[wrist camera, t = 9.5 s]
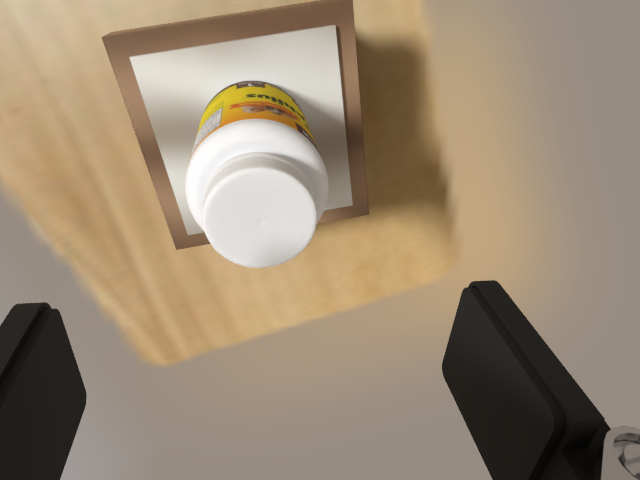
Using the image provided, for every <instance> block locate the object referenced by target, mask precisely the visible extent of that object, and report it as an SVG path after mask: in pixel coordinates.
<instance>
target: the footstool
mask: <svg viewBox="0 0 640 480" xmlns="http://www.w3.org/2000/svg"><path fill="white" fill-rule="evenodd" d="M102 40H103V42H104V45H105V48H106V51H107V54H108V57H109V60H110V62H111V65H112V68H113V71H114V74H115V77H116V79H117V82H118V85H119V88H120V91H121V94H122V96H123V99H124V102H125V105H126V108H127V111H128V113H129V116H130V119H131V122H132V125H133V128H134V131H135V133H136V136H137V139H138V142H139V145H140V148H141V150H142V153H143V156H144V159H145V162H146V165H147V167H148V170H149V173H150V176H151V179H152V182H153V184H154V187H155V190H156V193H157V196H158V199H159V201H160V204H161V207H162V210H163V213H164V216H165V219H166V221H167V224H168V227H169V230H170V233H171V236H172V238H173V241H174V244H175V247H176V250H178V249H184V248H189V247H194V246H200V245H205V244H211V243H210V242H209V240H208V239H207V236H206V234H205V232H204V231H203V230H202V228H201V227H200V226H199V225H198V224H197V222H196V221H195V219H194V217H193V215H192V213H191V211H190V209H189V206H188V203H187V198H186V192H185V180H186V173H187V168H188V164H189V160H190V157H191V154H192V150H193V147H194V143H195V140H196V136H197V133H198V129H199V126H200V122H201V119H202V115H203V113H204V111H205V109H206V107H207V105H208V103H209V102H210V101H211V99H212V98H213V97H214V96H215V95H216V94H217V93H218V92H219V91H221V90H222V89H224V88H225V87H227V86H229V85H231V84H233V83H236V82H240V81H247V80H257V81H264V82H268V83H271V84H273V85H276V86H278V87H280V88H281V89H283V90H285V91H286V92H287V93H288V94H289V95H290V96H291V97H292V98H293V99H294V100H295V101H296V102H297V104H298V105H299V106H300V108H301V110H302V112H303V114H304V116H305V118H306V121H307V123H308V126H309V128H310V130H311V133H312V135H313V138H314V140H315V143H316V145H317V148H318V150H319V152H320V155H321V157H322V159H323V161H324V164H325V168H326V172H327V176H328V186H329V190H328V198H327V203H326V206H325V210H324V212H323V214H322V216H321V218H320V219H319V221H318V223H317V224H320V223H325V222H331V221H336V220H341V219H347V218H352V217H358V216H363V215H369V211H368V198H367V185H366V172H365V158H364V145H363V132H362V119H361V105H360V92H359V79H358V66H357V52H356V39H355V26H354V13H353V0H319V1H312V2H306V3H299V4H293V5H286V6H280V7H273V8H267V9H260V10H253V11H247V12H240V13H234V14H227V15H221V16H214V17H208V18H201V19H195V20H188V21H181V22H175V23H168V24H162V25H155V26H149V27H142V28H136V29H129V30H123V31H116V32H111V33H109V34H107V35H105V36H103V37H102Z"/></svg>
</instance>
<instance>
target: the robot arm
mask: <svg viewBox="0 0 640 480" xmlns="http://www.w3.org/2000/svg"><path fill="white" fill-rule="evenodd" d="M442 371H443V376H444V378H445V380H446V383H447V384H448V387H449V389H450V391H451V393H452V395H453V397H454V399H455V401H456V404H457V406H458V408H459V410H460V412H461V414H462V416H463V418H464V420H465V422H466V425H467V427H468V429H469V431H470V433H471V435H472V437H473V439H474V441H475V443H476V446H477V448H478V450H479V452H480V454H481V456H482V458H483V460H484V462H485V464H486V467H487V469H488V471H489V473H490V475H491V477H492V479H493V480H640V429H638V428H635V427H627V426H620V427H616V428H612V429H610V427H609V426H608V425H607V423H606V422H605V421H604V418H603V416H602V415H601V414H600V412H599V411H598V410H597V408H596V407H595V406H594V405H593V403H592V402H591V401H590V399H589V398H588V397H587V396H586V394H585V393H584V392H583V390H582V389H581V388H580V387H579V385H578V384H577V383H576V382H575V380H574V379H573V378H572V376H571V375H570V374H569V372H568V371H567V370H566V369H565V367H564V366H563V365H562V363H561V362H560V361H559V360H558V358H557V357H556V356H555V355H554V353H553V352H552V351H551V349H550V348H549V347H548V345H547V344H546V343H545V342H544V340H543V339H542V338H541V336H540V335H539V334H538V333H537V331H536V330H535V329H534V328H533V326H532V325H531V324H530V322H529V321H528V320H527V318H526V317H525V316H524V315H523V313H522V312H521V311H520V310H519V308H518V307H517V306H516V304H515V303H514V302H513V301H512V299H511V298H510V297H509V295H508V294H507V293H506V292H505V290H504V289H503V288H502V286H501V285H500V284H499V283H498V282H497V281H493V280H492V281H474V282H471V283H470V285H469V287H468V288H465V289H463V291H462V294H461V298H460V302H459V305H458V309H457V312H456V316H455V320H454V323H453V327H452V330H451V334H450V337H449V342H448V345H447V348H446V352H445V355H444V359H443V363H442ZM85 405H86V390H85V387H84V384H83V381H82V378H81V375H80V372H79V369H78V366H77V363H76V360H75V357H74V354H73V351H72V348H71V345H70V342H69V339H68V336H67V332H66V329H65V327H64V324H63V320H62V317H61V315H60V312H59V311H58V310H57V309H51V307H50V305H49V304H48V303H26V304H16V305H15V306H14V307H13V308H12V309H11V310H10V312H9V314H8V315H7V317H6V318H5V320H4V321H3V323H2V324H1V326H0V480H60V478H61V475H62V472H63V469H64V466H65V463H66V461H67V458H68V455H69V452H70V449H71V446H72V443H73V440H74V437H75V435H76V432H77V429H78V426H79V423H80V420H81V417H82V414H83V412H84V409H85Z"/></svg>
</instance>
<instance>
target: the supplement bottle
mask: <svg viewBox="0 0 640 480" xmlns="http://www.w3.org/2000/svg"><path fill="white" fill-rule="evenodd" d="M328 190H329V186H328V176H327V172H326V168H325V164H324V161H323V159H322V157H321V155H320V152H319V150H318V148H317V145H316V143H315V140H314V138H313V135H312V133H311V130H310V128H309V126H308V123H307V121H306V118H305V116H304V114H303V112H302V110H301V108H300V106H299V105H298V104H297V102H296V101H295V100H294V99H293V98H292V97H291V96H290V95H289V94H288V93H287V92H286V91H285V90H283V89H281V88H280V87H278V86H276V85H273V84H271V83H268V82H264V81H257V80H247V81H240V82H236V83H233V84H231V85H229V86H227V87H225V88H224V89H222V90H221V91H219V92H218V93H217V94H216V95H215V96H214V97H213V98H212V99H211V101H210V102H209V103H208V105H207V107H206V109H205V111H204V113H203V115H202V119H201V122H200V126H199V129H198V133H197V136H196V140H195V143H194V147H193V150H192V154H191V157H190V160H189V164H188V168H187V173H186V180H185V192H186V198H187V203H188V206H189V209H190V211H191V213H192V215H193V217H194V219H195V221H196V222H197V224H198V225H199V226H200V227H201V228H202V230H203V231H204V232H205V234H206V236H207V239H208V240H209V242H210V243H211V245H212V246H213V248H214V249H215V250H216V251H217V252H218V253H219V254H221V255H222V256H223V257H225V258H226V259H228V260H230V261H232V262H234V263H236V264H239V265H242V266H246V267H254V268H265V267H272V266H276V265H279V264H283V263H285V262H287V261H289V260H291V259H293V258H294V257H296V256H297V255H298V254H299V253H301V252H302V251H303V250H304V249H305V247H306V246H307V245H308V244H309V242H310V240H311V239H312V237H313V235H314V232H315V229H316V225H317V223H318V221H319V219H320V218H321V216H322V214H323V212H324V210H325V206H326V203H327V198H328Z"/></svg>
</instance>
